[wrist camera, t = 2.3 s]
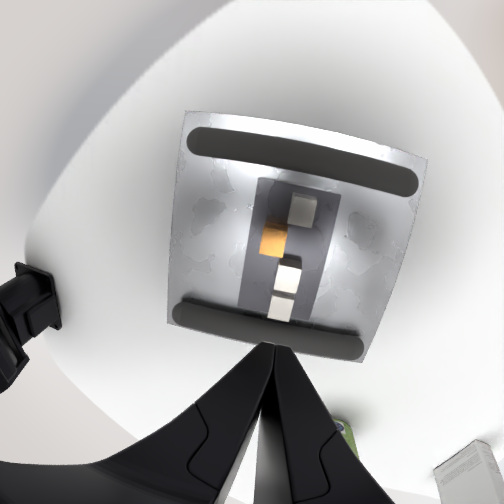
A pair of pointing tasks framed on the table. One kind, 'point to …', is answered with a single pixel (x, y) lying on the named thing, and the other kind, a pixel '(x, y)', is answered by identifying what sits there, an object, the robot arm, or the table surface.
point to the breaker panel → (287, 234)
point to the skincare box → (470, 477)
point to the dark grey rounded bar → (303, 159)
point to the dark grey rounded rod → (267, 332)
